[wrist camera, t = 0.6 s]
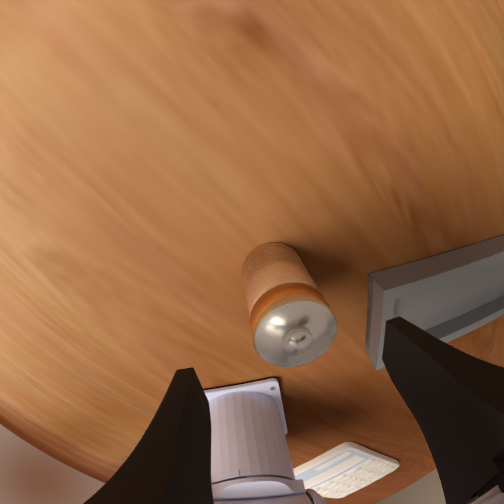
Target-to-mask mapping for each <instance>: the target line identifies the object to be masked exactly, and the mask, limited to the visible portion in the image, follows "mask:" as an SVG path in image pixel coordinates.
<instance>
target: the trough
mask: <svg viewBox="0 0 504 504" xmlns="http://www.w3.org/2000/svg"><path fill="white" fill-rule="evenodd" d="M502 315H504V235H501V236H498V237H495V238H492V239H489V240H485V241H482V242H479V243H476V244H473V245H469V246H466V247H463V248H459V249H456V250H453V251H449V252H446V253H443V254H439V255H436V256H432V257H429V258H425V259H422V260H418V261H414V262H411V263H407V264H404V265H400V266H396V267H392V268H389V269H385V270H381V271H377V272H373V273H370V274H369V275H368V311H367V330H366V345H365V353H366V354H367V356H368V358H369V359H370V361H371V363H372V364H373V366H374V368H375V370H379V369H382V368H385V365H384V362H383V360H382V354H383V346H384V336H385V325H386V321H387V320H390V319H393V318H396V317H399V316H400V317H402V318H404V319H405V320H407V321H409V322H411V323H412V324H414V325H416V326H417V327H419V328H421V329H422V330H424V331H426V332H427V333H429V334H431V335H432V336H434V337H436V338H438V339H439V340H441V341H443V342H445V343H448V342H450V341H452V340H454V339H456V338H459V337H461V336H463V335H465V334H467V333H469V332H471V331H473V330H475V329H477V328H479V327H481V326H483V325H485V324H487V323H489V322H491V321H493V320H495V319H497V318H498V317H500V316H502Z"/></svg>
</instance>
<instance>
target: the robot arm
mask: <svg viewBox="0 0 504 504" xmlns="http://www.w3.org/2000/svg"><path fill="white" fill-rule="evenodd" d="M382 360H383V362H384V365H385V367H386V369H387V371H388V374H389V376H390V378H391V380H392V382H393V383H394V385H395V386H396V388H397V390H398V391H399V393H400V395H401V396H402V398H403V399H404V401H405V403H406V404H407V406H408V407H409V409H410V411H411V412H412V414H413V415H414V417H415V419H416V420H417V422H418V424H419V426H420V428H421V430H422V432H423V434H424V437H425V439H426V441H427V444H428V446H429V449H430V451H431V454H432V456H433V459H434V462H435V465H436V468H437V470H438V474H439V477H440V480H441V484H442V488H443V492H444V496H445V500H446V504H470V503H471V504H504V368H503V367H500V366H497V365H494V364H491V363H488V362H485V361H483V360H480V359H478V358H475V357H473V356H471V355H468V354H466V353H464V352H462V351H460V350H458V349H456V348H454V347H452V346H450V345H448V344H447V343H445V342H443V341H441V340H439V339H438V338H436V337H434V336H432V335H431V334H429V333H427V332H426V331H424V330H422V329H421V328H419V327H417V326H416V325H414V324H412V323H411V322H409V321H407V320H405V319H404V318H402V317H400V316H399V317H396V318H393V319H390V320H387V321H386V325H385V336H384V346H383V354H382ZM287 433H288V431H287V426H286V420H285V415H284V410H283V404H282V399H281V394H280V388H279V383H278V380H277V379H275V378H271V379H266V380H261V381H256V382H251V383H246V384H240V385H235V386H229V387H223V388H217V389H210V390H203V388H202V386H201V384H200V382H199V379H198V377H197V375H196V373H195V370H194V368H186V369H180V370H177V371H176V372H175V374H174V376H173V379H172V381H171V383H170V385H169V388H168V390H167V392H166V394H165V396H164V398H163V400H162V402H161V404H160V406H159V408H158V410H157V412H156V414H155V416H154V418H153V419H152V421H151V423H150V425H149V426H148V428H147V430H146V431H145V433H144V435H143V437H142V438H141V440H140V441H139V443H138V444H137V446H136V447H135V449H134V450H133V451H132V453H131V454H130V456H129V457H128V458H127V460H126V461H125V462H124V463H123V465H122V466H121V467H120V468H119V469H118V471H117V472H116V473H115V474H114V475H113V476H112V477H111V479H110V480H109V481H108V482H107V483H106V484H105V485H104V486H103V487H101V489H99V490H98V491H97V492H96V493H95V494H94V495H93V496H92V497H91V498H90V499H88V500H87V501H86V502H85V503H84V504H327V503H326V501H325V500H324V498H323V497H322V496H321V495H320V494H318V493H317V492H316V491H315V490H313V489H305V486H304V482H303V479H298V480H296V479H295V475H294V471H293V467H292V462H291V458H290V454H289V450H288V445H287V441H286V437H285V435H286V434H287ZM476 499H477V500H476ZM473 501H474V502H473Z"/></svg>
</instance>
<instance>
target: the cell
mask: <svg viewBox="0 0 504 504" xmlns="http://www.w3.org/2000/svg"><path fill="white" fill-rule="evenodd" d="M242 276H243V282H244V288H245V293H246V299H247V304H248V309H249V315H250V326H251V331H252V337H253V342H254V347H255V349H256V351H257V353H258V354H259V356H260V357H261V358H262V359H264V360H265V361H267V362H268V363H270V364H273V365H276V366H280V367H295V366H300V365H304V364H307V363H309V362H311V361H313V360H315V359H317V358H318V357H320V356H321V355H322V354H323V353H325V352H326V351H327V349H328V348H329V347H330V346H331V344H332V343H333V341H334V338H335V336H336V331H337V321H336V318H335V316H334V314H333V312H332V310H331V309H330V307H329V305H328V303H327V302H326V300H325V298H324V296H323V295H322V294H321V293H320V291H319V290H318V288H317V286H316V284H315V283H314V281H313V279H312V278H311V276H310V274H309V272H308V271H307V269H306V267H305V266H304V264H303V262H302V261H301V259H300V257H299V255H298V254H297V253H296V251H295V250H294V249H292V248H291V247H290V246H288V245H285V244H282V243H277V242H272V243H266V244H263V245H260V246H258V247H257V248H255V249H254V250H252V251H251V252H250V253H249V255H248V256H247V257H246V259H245V261H244V263H243V267H242Z"/></svg>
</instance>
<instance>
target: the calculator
mask: <svg viewBox="0 0 504 504" xmlns="http://www.w3.org/2000/svg"><path fill="white" fill-rule="evenodd" d="M398 467H399V463H398V461H397V460H395V459H392V458H390V457H387V456H385V455H382V454H380V453H377V452H375V451H372V450H370V449H368V448H365V447H363V446H361V445H358V444H356V443H353V442H345V443H342V444H340V445H338V446H336V447H334V448H333V449H331V450H329V451H327V452H325V453H324V454H322V455H320V456H318V457H316V458H314V459H312V460H310V461H308V462H306V463H304V464H302V465H300V466H298V467H296V468H294V469H293V471H294V475H295V479H296V480H298V479H303V482H304V486H305V489H313V490H315V491H316V492H317V493H318V494H320V495H321V496H322V497H329V498H343V497H345V496H347V495H348V494H350V493H353V492H355V491H357V490H359V489H361V488H363V487H365V486H367V485H369V484H371V483H372V482H374V481H376V480H378V479H380V478H382V477H383V476H385V475H387V474H388V473H391V472H392V471H394V470H395V469H397V468H398Z"/></svg>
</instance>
